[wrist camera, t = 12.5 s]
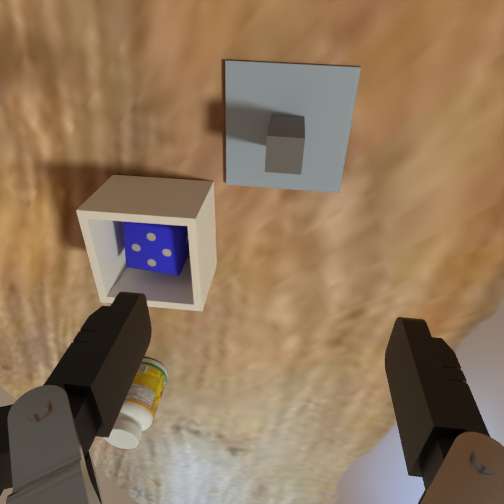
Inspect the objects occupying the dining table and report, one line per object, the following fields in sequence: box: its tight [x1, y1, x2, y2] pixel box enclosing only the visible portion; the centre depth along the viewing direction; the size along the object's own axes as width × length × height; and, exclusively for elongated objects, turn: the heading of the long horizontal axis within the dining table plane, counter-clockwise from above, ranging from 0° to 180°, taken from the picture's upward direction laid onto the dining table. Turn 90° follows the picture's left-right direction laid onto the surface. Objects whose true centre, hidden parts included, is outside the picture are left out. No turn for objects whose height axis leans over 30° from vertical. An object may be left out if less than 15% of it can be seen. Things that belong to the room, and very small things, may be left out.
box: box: [76, 175, 217, 311], centre depth 35 cm, size 9×9×7 cm
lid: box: [225, 60, 361, 193], centre depth 29 cm, size 10×10×6 cm
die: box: [123, 221, 190, 276], centre depth 35 cm, size 5×5×5 cm
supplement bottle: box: [104, 358, 168, 449], centre depth 47 cm, size 5×5×10 cm
